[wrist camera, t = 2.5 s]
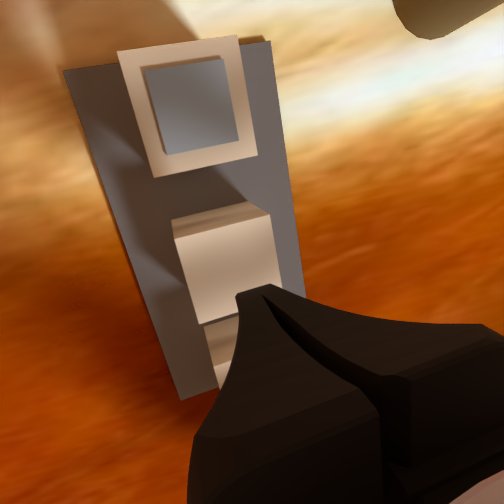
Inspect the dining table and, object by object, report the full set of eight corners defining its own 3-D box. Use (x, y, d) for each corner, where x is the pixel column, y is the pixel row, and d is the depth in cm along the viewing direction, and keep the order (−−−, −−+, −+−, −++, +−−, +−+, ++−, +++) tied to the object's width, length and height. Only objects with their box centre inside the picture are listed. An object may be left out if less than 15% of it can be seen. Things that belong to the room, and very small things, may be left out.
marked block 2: (279, 358, 22) (304, 402, 19) (219, 380, 22) (231, 430, 18) (269, 305, 21) (294, 341, 17) (203, 326, 20) (213, 369, 16)
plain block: (260, 269, 20) (283, 297, 16) (191, 290, 19) (199, 324, 15) (247, 200, 18) (269, 214, 15) (170, 219, 17) (174, 239, 14)
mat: (311, 349, 24) (313, 352, 23) (180, 396, 22) (180, 400, 21) (267, 42, 16) (270, 40, 16) (65, 72, 14) (62, 70, 14)
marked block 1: (237, 153, 17) (259, 155, 13) (155, 171, 16) (153, 178, 13) (219, 60, 16) (238, 32, 12) (127, 74, 15) (115, 49, 11)
